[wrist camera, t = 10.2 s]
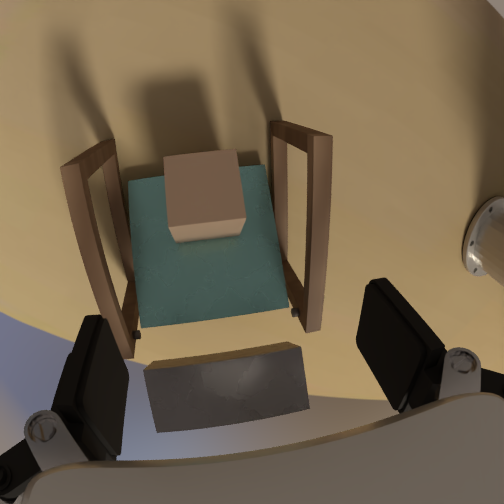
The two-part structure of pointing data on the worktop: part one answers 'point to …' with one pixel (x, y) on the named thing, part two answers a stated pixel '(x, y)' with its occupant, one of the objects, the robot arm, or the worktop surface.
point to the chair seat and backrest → (214, 311)
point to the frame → (318, 218)
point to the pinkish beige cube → (204, 195)
